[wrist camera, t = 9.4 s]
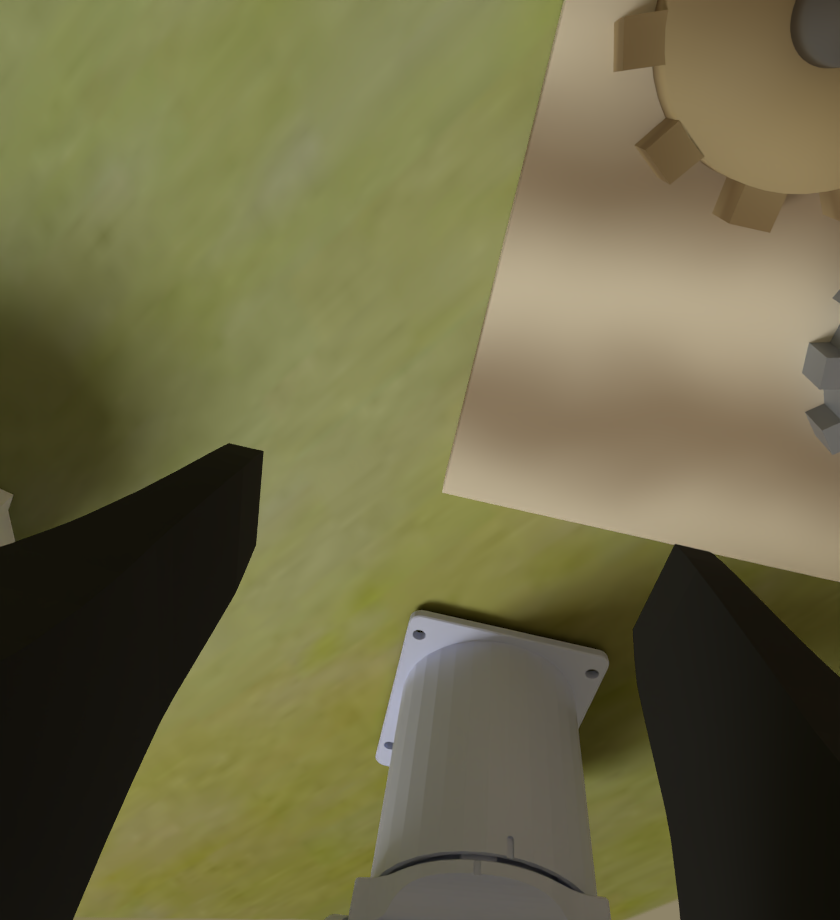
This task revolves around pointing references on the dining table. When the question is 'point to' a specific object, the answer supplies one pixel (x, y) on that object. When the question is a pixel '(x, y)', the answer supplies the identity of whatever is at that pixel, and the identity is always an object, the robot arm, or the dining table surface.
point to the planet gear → (825, 388)
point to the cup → (5, 519)
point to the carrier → (670, 284)
